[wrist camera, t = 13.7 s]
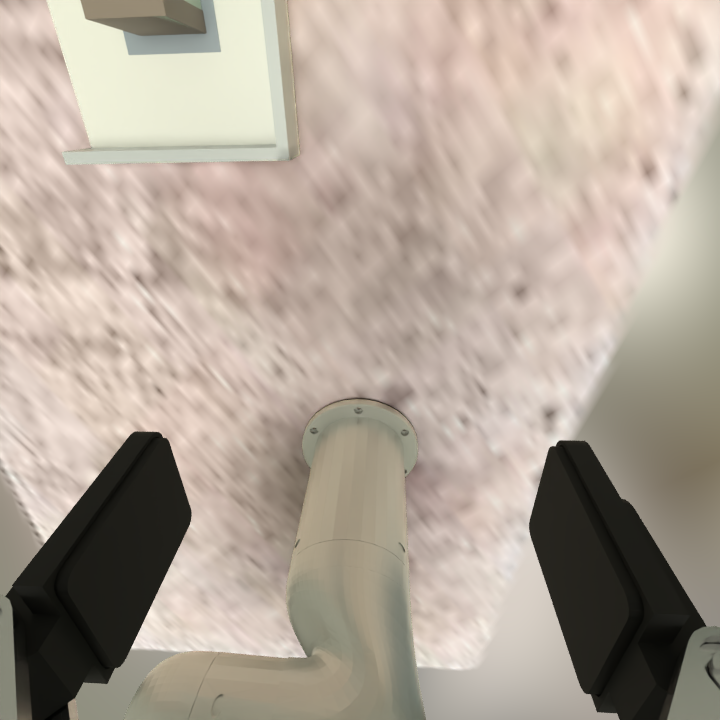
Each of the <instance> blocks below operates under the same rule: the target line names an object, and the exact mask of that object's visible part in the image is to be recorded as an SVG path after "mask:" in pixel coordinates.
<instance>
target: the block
mask: <svg viewBox="0 0 720 720" xmlns="http://www.w3.org/2000/svg"><path fill="white" fill-rule="evenodd" d="M80 1H81V4H82V8H83V12H84V15H85V19H87V20H90V21H93V22H97V23H100V24H103V25H106V26H110V27H113V28H116V29H119V30H123V31H126V32H129V33H133V34H136V35H139V36H152V35H180V34H207V32H206V26H205V20H204V14H203V10H202V7H201V1H200V0H80Z"/></svg>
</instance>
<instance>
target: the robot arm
mask: <svg viewBox="0 0 720 720" xmlns="http://www.w3.org/2000/svg"><path fill="white" fill-rule="evenodd" d="M302 451H303V456H304V458H305V461H306V463H307V464H308V466H309V468H310V469H311V471H310V475H309V480H308V485H307V489H306V494H305V499H304V503H303V508H302V513H301V517H300V522H299V527H298V531H297V536H296V541H295V545H294V550H293V555H292V559H291V564H290V569H289V574H288V579H287V585H286V605H287V611H288V615H289V619H290V622H291V625H292V627H293V630H294V632H295V634H296V636H297V638H298V640H299V642H300V644H301V646H302V648H303V650H304V652H305V654H306V656H307V658H295V657H288V658H278V657H267V656H256V655H246V654H235V653H225V652H212V651H190V652H184V653H179V654H176V655H174V656H171V657H169V658H167V659H166V660H164V661H163V662H161V663H160V664H158V665H157V666H156V667H155V668H154V669H153V670H152V671H151V672H150V673H149V674H148V675H147V677H146V678H145V679H144V681H143V682H142V684H141V685H140V686H139V688H138V690H137V691H136V694H135V696H134V697H133V699H132V701H131V703H130V705H129V707H128V710H127V712H126V714H125V717H124V719H123V720H426V717H425V712H424V707H423V702H422V696H421V691H420V685H419V680H418V673H417V666H416V659H415V651H414V641H413V631H412V618H411V602H410V582H409V559H408V537H407V514H406V492H405V477H406V476H407V475H408V474H409V473H410V472H411V470H412V469H413V467H414V465H415V463H416V461H417V456H418V441H417V436H416V433H415V431H414V429H413V427H412V425H411V424H410V423H409V421H408V420H407V419H406V418H405V417H404V416H403V415H402V414H401V413H400V412H398V411H397V410H395V409H393V408H391V407H390V406H387V405H385V404H382V403H380V402H376V401H371V400H362V399H352V400H344V401H340V402H336V403H333V404H331V405H329V406H327V407H325V408H323V409H322V410H320V411H319V412H317V413H316V414H315V415H314V416H313V417H312V419H311V420H310V421H309V423H308V425H307V426H306V428H305V432H304V435H303V440H302ZM190 522H191V508H190V505H189V502H188V499H187V496H186V493H185V490H184V487H183V484H182V480H181V477H180V474H179V471H178V468H177V465H176V462H175V459H174V456H173V453H172V450H171V446H170V443H169V441H168V439H166V438H163V437H162V435H161V434H160V433H159V432H134V433H132V434H131V435H130V436H129V437H128V439H127V440H126V441H125V442H124V444H123V445H122V446H121V448H120V449H119V450H118V451H117V453H116V454H115V455H114V456H113V458H112V459H111V460H110V462H109V463H108V464H107V465H106V467H105V468H104V469H103V470H102V472H101V473H100V474H99V476H98V477H97V478H96V479H95V481H94V482H93V483H92V484H91V486H90V487H89V488H88V489H87V491H86V492H85V493H84V495H83V496H82V497H81V498H80V500H79V501H78V502H77V503H76V505H75V506H74V507H73V509H72V510H71V511H70V512H69V514H68V515H67V516H66V517H65V519H64V520H63V521H62V523H61V524H60V525H59V526H58V528H57V529H56V530H55V531H54V533H53V534H52V535H51V537H50V538H49V539H48V540H47V542H46V543H45V544H44V545H43V547H42V548H41V549H40V550H39V552H38V553H37V554H36V556H35V557H34V558H33V559H32V561H31V562H30V563H29V564H28V566H27V567H26V568H25V570H24V571H23V572H22V573H21V575H20V576H19V577H18V578H17V580H16V581H15V582H14V584H13V585H12V586H13V587H12V588H11V590H10V591H9V592H8V594H7V595H6V596H3V595H0V720H79V719H78V712H77V706H76V699H75V697H76V695H77V693H78V691H79V689H80V688H81V686H82V684H83V682H85V683H102V684H107V683H108V681H109V679H110V677H111V675H112V673H113V671H114V669H115V668H118V667H120V666H121V665H122V664H123V662H124V661H125V659H126V657H127V655H128V653H129V651H130V649H131V647H132V645H133V643H134V640H135V638H136V636H137V634H138V632H139V630H140V628H141V626H142V624H143V622H144V619H145V617H146V615H147V613H148V611H149V609H150V607H151V605H152V603H153V601H154V598H155V596H156V594H157V592H158V590H159V588H160V586H161V584H162V582H163V580H164V577H165V575H166V573H167V571H168V569H169V567H170V565H171V563H172V561H173V559H174V556H175V554H176V552H177V550H178V548H179V546H180V544H181V542H182V540H183V538H184V535H185V533H186V531H187V529H188V527H189V525H190ZM529 530H530V536H531V539H532V542H533V545H534V548H535V551H536V554H537V557H538V560H539V563H540V566H541V569H542V572H543V575H544V578H545V581H546V584H547V587H548V590H549V593H550V596H551V599H552V602H553V605H554V608H555V612H556V615H557V617H558V620H559V624H560V626H561V630H562V632H563V636H564V639H565V642H566V645H567V648H568V651H569V654H570V656H571V660H572V663H573V666H574V669H575V672H576V675H577V678H578V681H579V683H580V686H581V688H582V690H583V691H584V692H585V693H586V694H591V696H592V698H593V701H594V704H595V707H596V710H597V712H604V713H617V714H618V716H619V719H620V720H720V627H717V626H713V627H707V626H706V625H705V623H704V621H703V620H702V618H701V616H700V615H699V613H698V612H697V610H696V608H695V607H694V605H693V603H692V602H691V600H690V599H689V597H688V596H687V594H686V592H685V590H684V589H683V587H682V586H681V584H680V582H679V581H678V579H677V577H676V576H675V574H674V572H673V571H672V569H671V568H670V566H669V564H668V563H667V561H666V559H665V558H664V556H663V555H662V553H661V551H660V550H659V548H658V546H657V545H656V543H655V541H654V540H653V538H652V536H651V535H650V533H649V532H648V530H647V528H646V527H645V525H644V523H643V522H642V520H641V519H640V517H639V515H638V514H637V512H636V511H635V509H634V508H633V506H632V505H631V504H630V503H629V502H628V501H626V500H624V499H621V498H620V496H619V494H618V493H617V491H616V489H615V487H614V486H613V484H612V482H611V481H610V479H609V477H608V476H607V475H606V472H605V471H604V469H603V467H602V466H601V464H600V462H599V461H598V459H597V457H596V456H595V454H594V452H593V450H592V449H591V447H590V445H589V444H588V443H587V442H585V441H563V440H561V441H559V442H558V443H557V445H556V447H555V446H552V447H550V448H549V451H548V454H547V458H546V462H545V465H544V469H543V473H542V477H541V480H540V484H539V488H538V492H537V495H536V499H535V503H534V507H533V510H532V514H531V518H530V523H529Z"/></svg>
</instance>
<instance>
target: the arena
mask: <svg viewBox="0 0 720 720" xmlns="http://www.w3.org/2000/svg"><path fill="white" fill-rule="evenodd" d="M200 1H201V7H202V10H203V14H204V20H205V26H206V32H207V34H180V35H152V36H139V35H136V34H133V33H129V32H126V31H123V30H119V29H116V28H113V27H110V26H106V25H103V24H100V23H97V22H93V21H90V20H87V19H85V15H84V12H83V8H82V4H81V1H80V0H47V3H48V7H49V10H50V13H51V17H52V20H53V23H54V26H55V30H56V33H57V36H58V39H59V43H60V46H61V49H62V53H63V56H64V59H65V62H66V66H67V69H68V72H69V76H70V79H71V82H72V85H73V89H74V92H75V95H76V98H77V102H78V105H79V108H80V112H81V115H82V118H83V121H84V125H85V128H86V131H87V135H88V138H89V141H90V144H91V148H87V149H80V150H73V151H65V152H62V154H63V157H64V160H65V163H66V165H68V164H123V163H179V162H234V161H289V160H291V159H293V158H295V157H297V156H299V155H300V148H299V136H298V124H297V112H296V100H295V88H294V77H293V65H292V53H291V41H290V29H289V17H288V5H287V0H200Z"/></svg>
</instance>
